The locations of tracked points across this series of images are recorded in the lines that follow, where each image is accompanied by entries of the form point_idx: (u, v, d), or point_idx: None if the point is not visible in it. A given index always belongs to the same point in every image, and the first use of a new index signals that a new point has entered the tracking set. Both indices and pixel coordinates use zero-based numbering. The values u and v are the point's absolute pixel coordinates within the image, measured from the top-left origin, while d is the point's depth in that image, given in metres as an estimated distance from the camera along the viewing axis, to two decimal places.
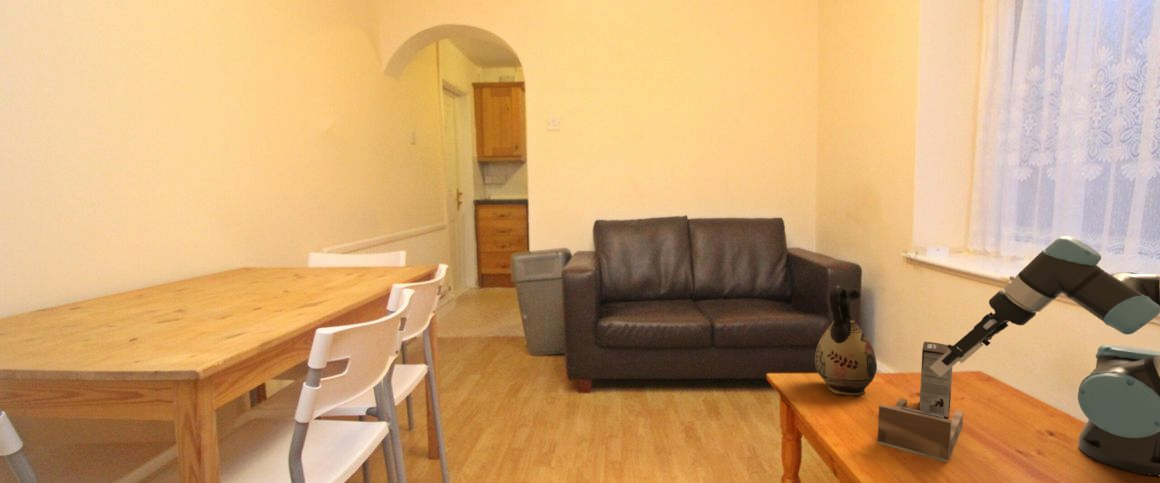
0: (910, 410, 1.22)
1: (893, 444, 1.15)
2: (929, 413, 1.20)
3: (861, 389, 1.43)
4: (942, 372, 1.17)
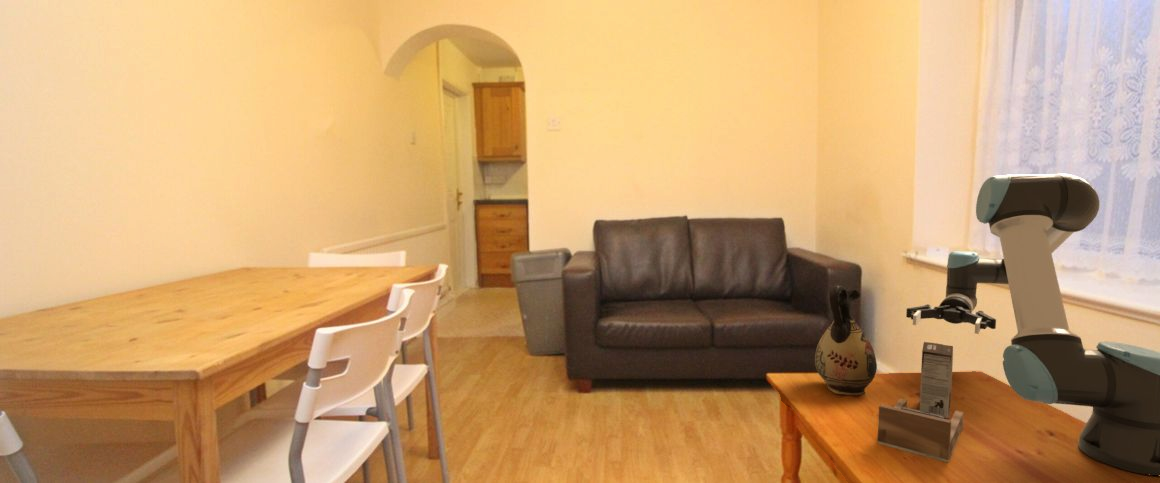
0: (910, 410, 1.22)
1: (893, 444, 1.15)
2: (929, 413, 1.20)
3: (861, 389, 1.43)
4: None
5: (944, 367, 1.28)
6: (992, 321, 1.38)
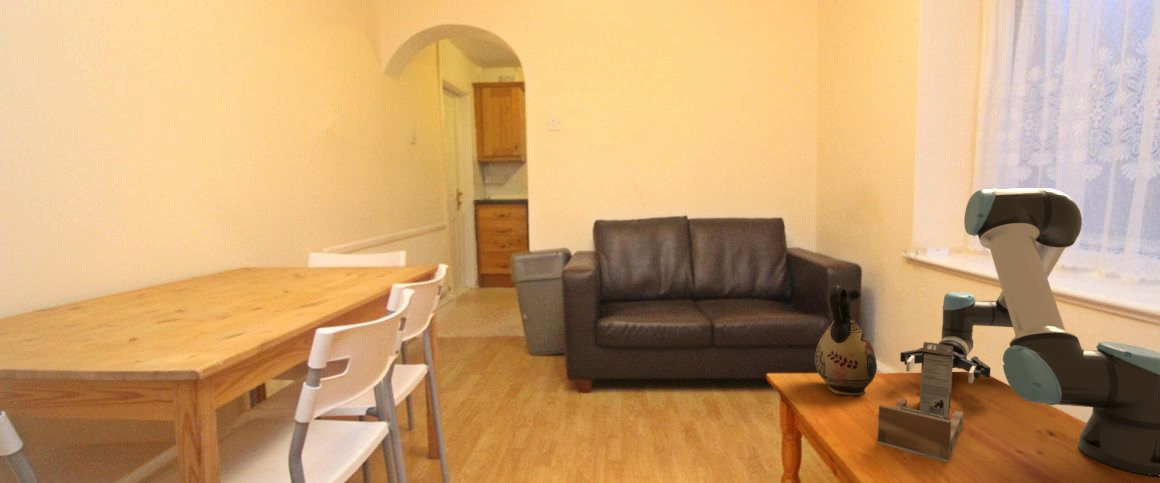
0: (910, 410, 1.22)
1: (893, 444, 1.15)
2: (929, 413, 1.20)
3: (861, 389, 1.43)
4: (907, 361, 1.43)
5: (944, 367, 1.28)
6: (986, 369, 1.36)
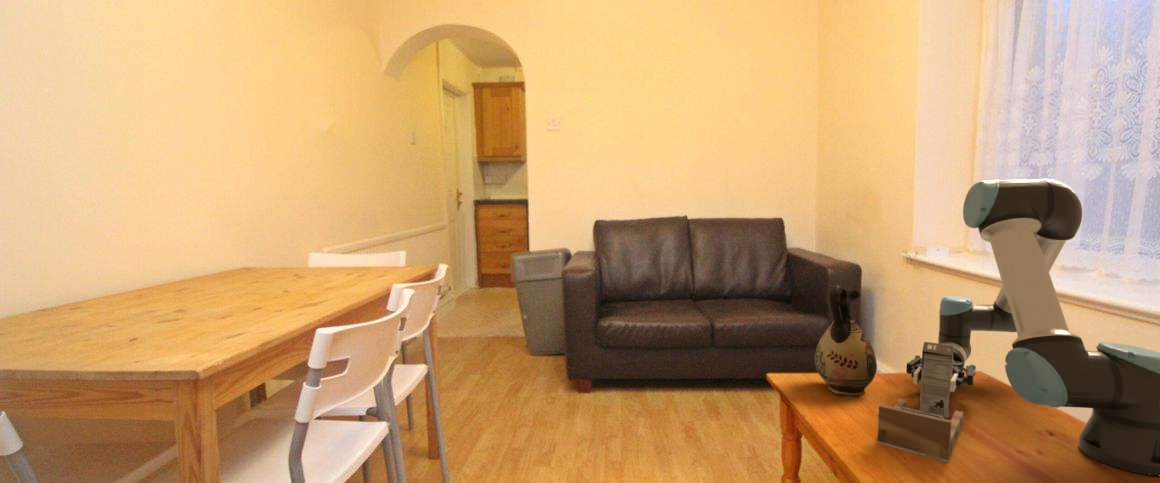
0: (910, 410, 1.22)
1: (893, 444, 1.15)
2: (929, 413, 1.20)
3: (861, 389, 1.43)
4: (914, 373, 1.33)
5: (945, 367, 1.28)
6: (968, 377, 1.31)
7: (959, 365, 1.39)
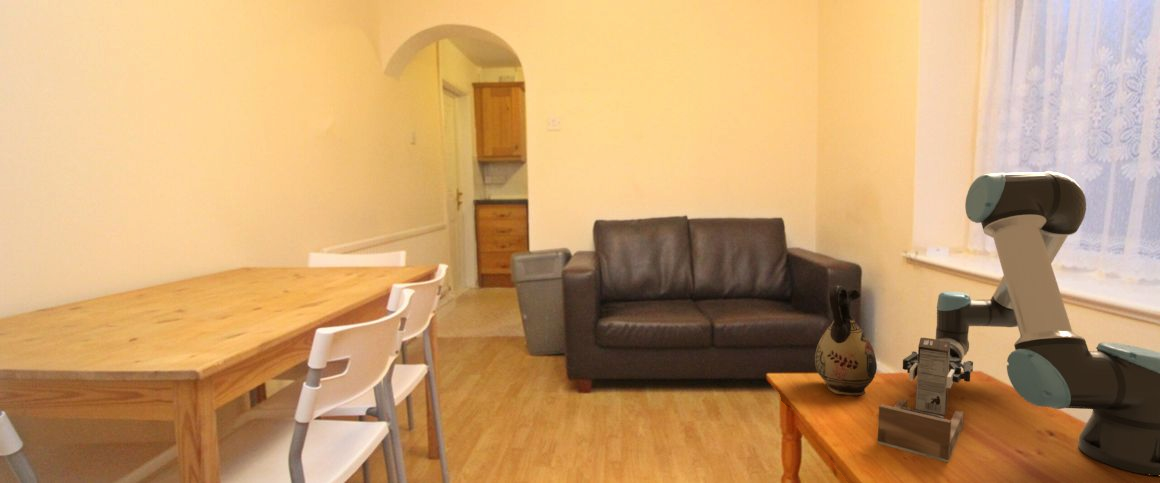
0: (910, 410, 1.22)
1: (893, 444, 1.15)
2: (929, 413, 1.20)
3: (861, 389, 1.43)
4: None
5: (941, 363, 1.26)
6: (965, 373, 1.28)
7: (956, 361, 1.36)
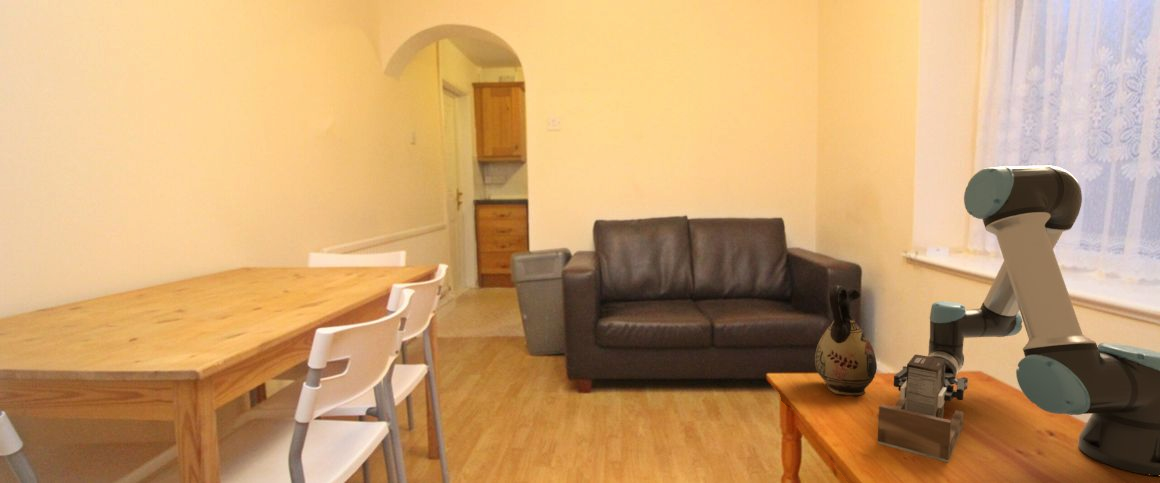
0: None
1: (893, 444, 1.15)
2: None
3: (861, 389, 1.43)
4: None
5: (931, 383, 1.17)
6: (958, 391, 1.19)
7: (950, 377, 1.27)
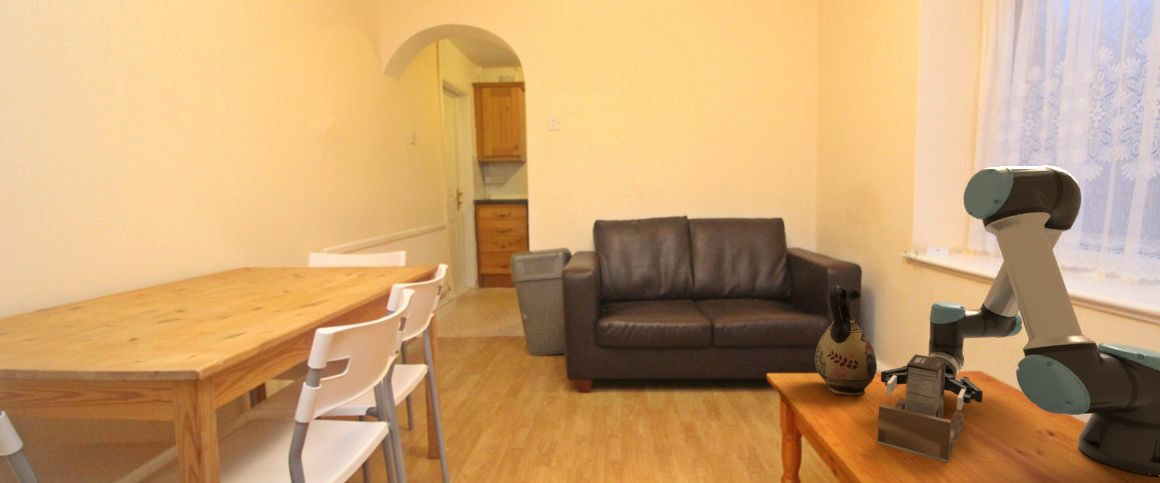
0: None
1: (893, 444, 1.15)
2: None
3: (861, 389, 1.43)
4: None
5: (931, 383, 1.17)
6: (978, 393, 1.18)
7: (952, 378, 1.27)
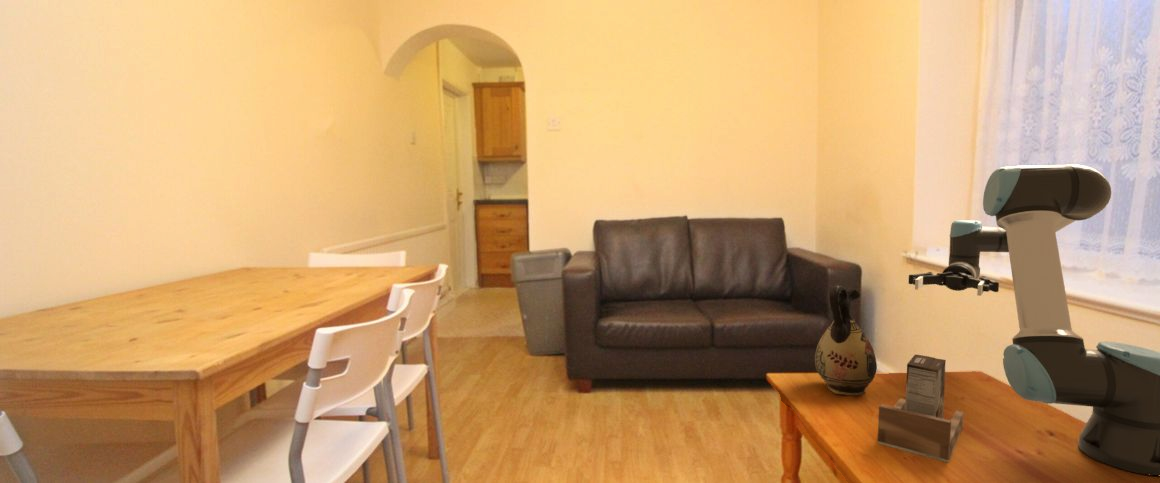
0: None
1: (893, 444, 1.15)
2: None
3: (861, 389, 1.43)
4: None
5: (931, 383, 1.17)
6: (995, 284, 1.37)
7: None
